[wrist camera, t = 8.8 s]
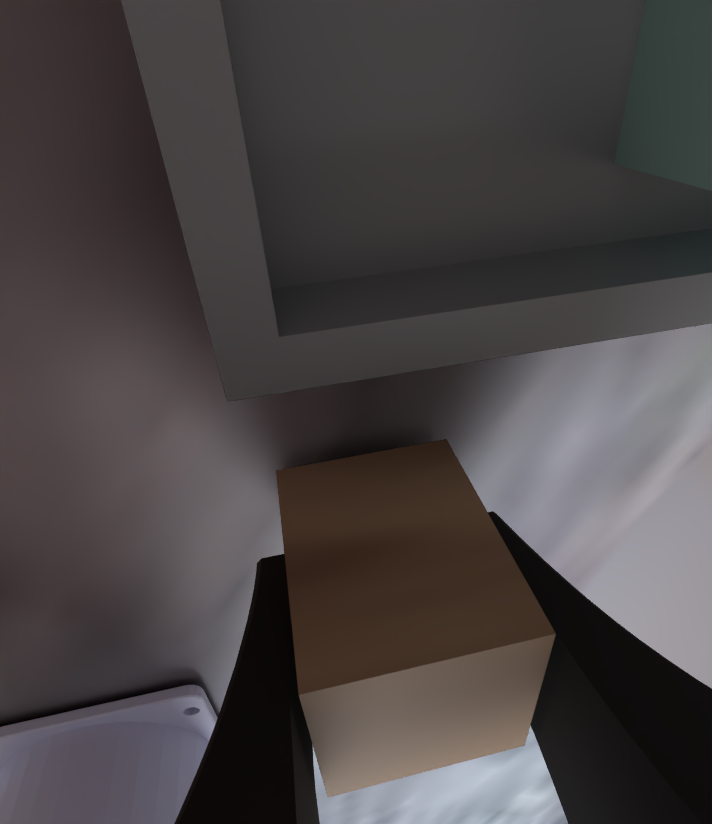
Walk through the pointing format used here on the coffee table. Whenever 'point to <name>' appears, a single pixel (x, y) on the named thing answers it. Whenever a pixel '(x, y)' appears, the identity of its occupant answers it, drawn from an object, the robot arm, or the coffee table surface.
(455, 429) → the coffee table surface
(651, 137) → the teal block
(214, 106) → the tray
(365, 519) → the walnut block
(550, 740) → the robot arm
